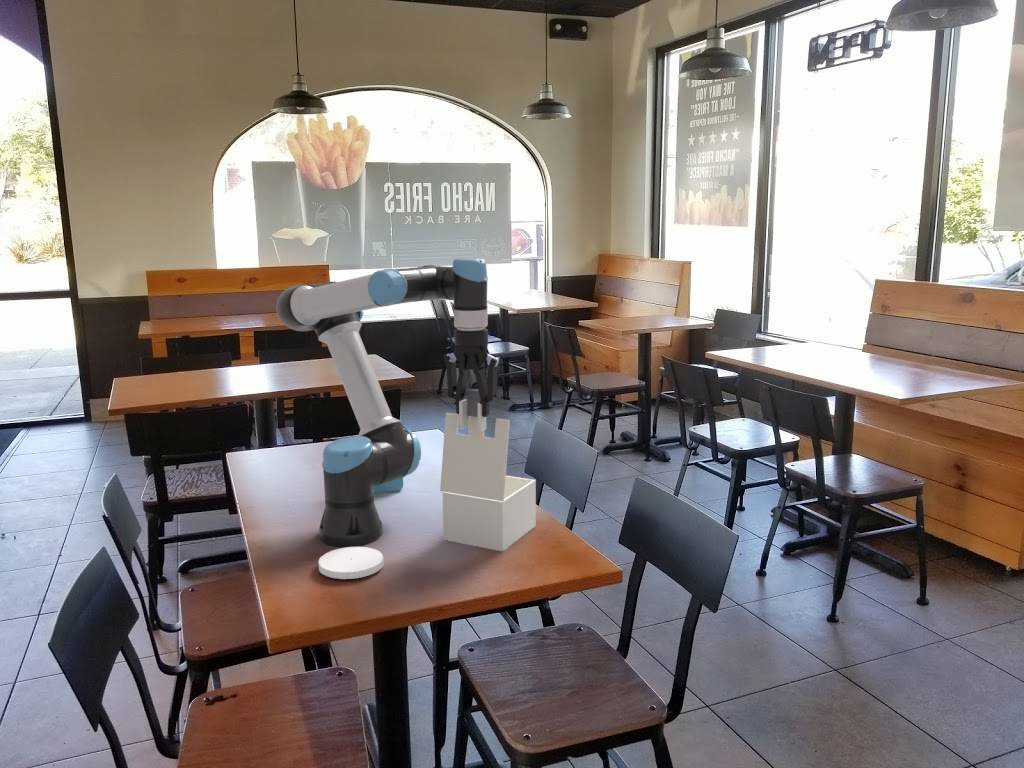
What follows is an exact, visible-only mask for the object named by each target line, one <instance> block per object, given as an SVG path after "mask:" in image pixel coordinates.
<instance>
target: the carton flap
mask: <svg viewBox="0 0 1024 768" xmlns="http://www.w3.org/2000/svg"><path fill="white" fill-rule="evenodd" d="M467 393H468V394H467V400H468V404H467V416H468V427H467V434H463V433H459V425H460V423H459V414H457V413H452V412H445V419H444V433H443V434H444V435H443V444H442V445H443V447H442V459H441V461H442V462H441V475H440V487H439V488H440V489H439V491H440V492H442V493H443V492H449V493H455V494H461V495H467V496H473V497H479V498H485V499H491V500H497V501H504V492H505V479H506V476H507V465H508V463H507V462H508V452H509V451H508V450H509V440H510V439H509V437H510V436H509V435H510V425H511V424H510V423H511V419H506V418H495V427H494V428H495V429H494V437H488V436H485V431H486V429H485V430H483V431H481V432H479V431H478V403H479V402H480V396H479V391H478V389H468V392H467ZM488 417H489V416H487V417H486V418H488Z"/></svg>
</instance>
